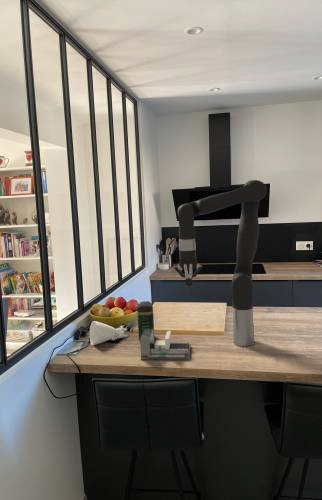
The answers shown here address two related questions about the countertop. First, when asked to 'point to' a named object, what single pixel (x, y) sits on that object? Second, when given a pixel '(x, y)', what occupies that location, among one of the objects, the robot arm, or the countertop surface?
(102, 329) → the funnel
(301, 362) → the countertop surface
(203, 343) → the countertop surface
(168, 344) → the cream t-shaped handle
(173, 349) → the frame
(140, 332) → the coffee jar
